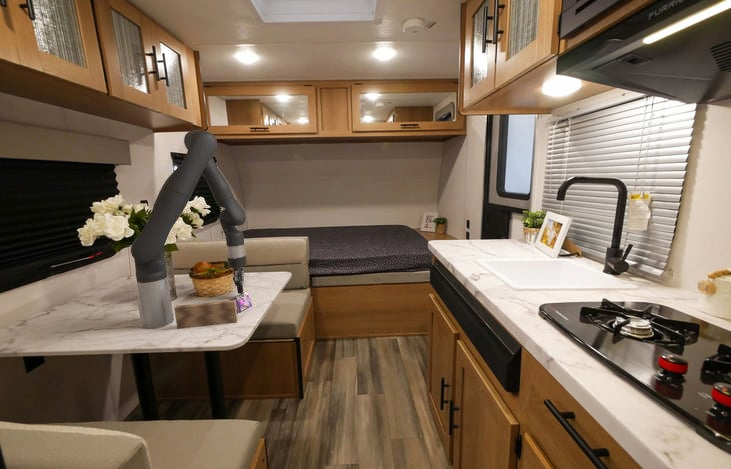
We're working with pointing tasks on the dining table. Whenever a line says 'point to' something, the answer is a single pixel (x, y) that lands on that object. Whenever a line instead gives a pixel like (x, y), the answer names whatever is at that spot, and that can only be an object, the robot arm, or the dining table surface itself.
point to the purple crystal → (241, 301)
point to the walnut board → (206, 314)
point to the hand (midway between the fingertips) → (240, 293)
